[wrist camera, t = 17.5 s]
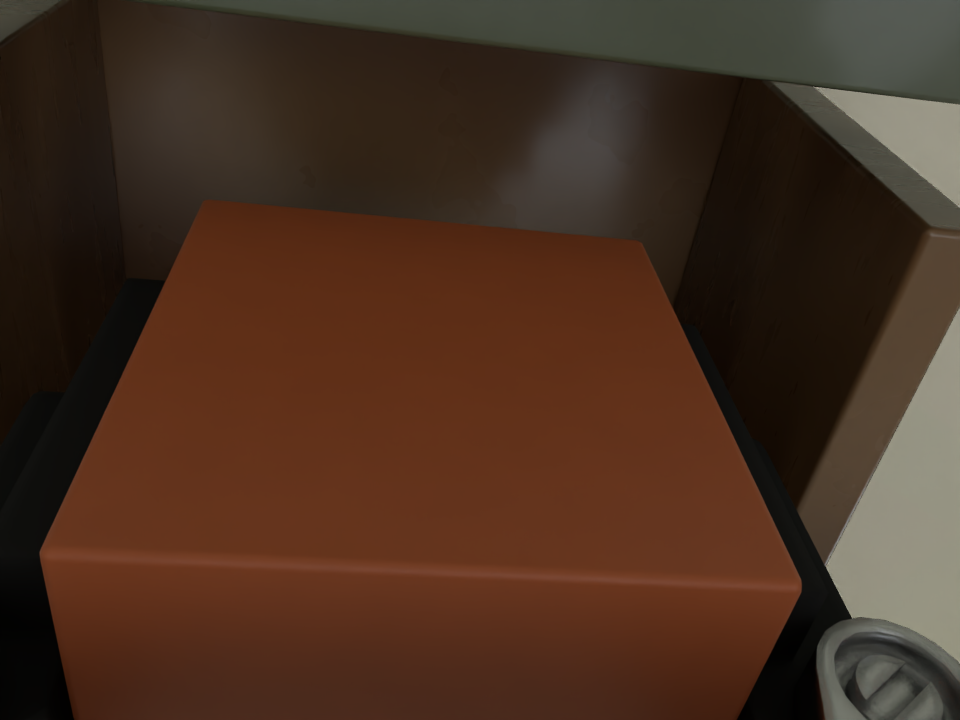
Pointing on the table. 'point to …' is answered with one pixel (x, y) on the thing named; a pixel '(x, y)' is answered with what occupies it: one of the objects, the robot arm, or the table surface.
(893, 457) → the table surface
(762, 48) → the drawer
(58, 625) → the block
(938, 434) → the table surface
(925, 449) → the table surface
